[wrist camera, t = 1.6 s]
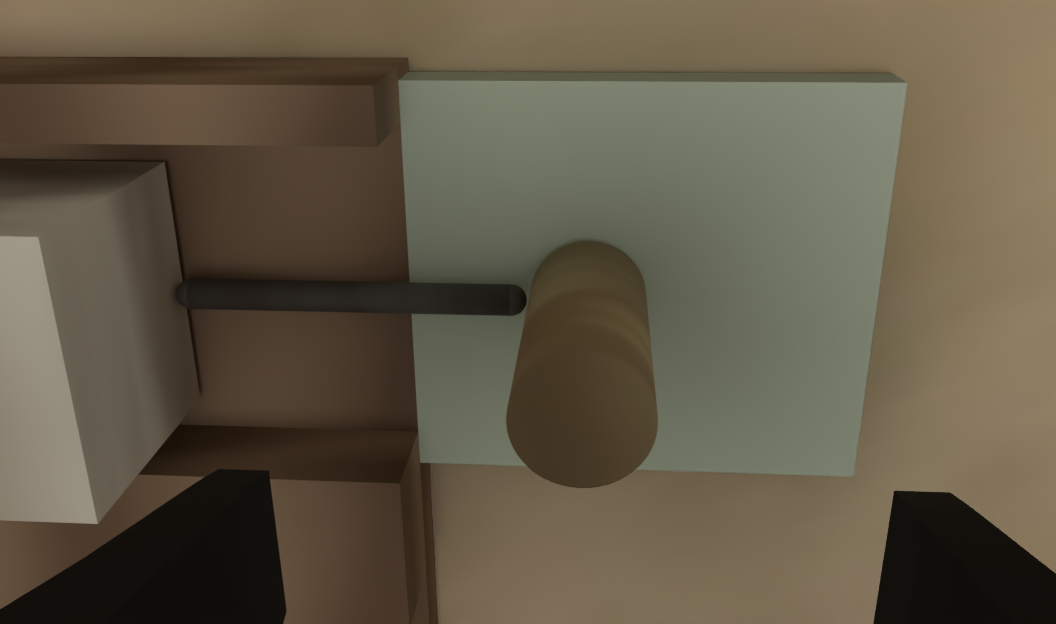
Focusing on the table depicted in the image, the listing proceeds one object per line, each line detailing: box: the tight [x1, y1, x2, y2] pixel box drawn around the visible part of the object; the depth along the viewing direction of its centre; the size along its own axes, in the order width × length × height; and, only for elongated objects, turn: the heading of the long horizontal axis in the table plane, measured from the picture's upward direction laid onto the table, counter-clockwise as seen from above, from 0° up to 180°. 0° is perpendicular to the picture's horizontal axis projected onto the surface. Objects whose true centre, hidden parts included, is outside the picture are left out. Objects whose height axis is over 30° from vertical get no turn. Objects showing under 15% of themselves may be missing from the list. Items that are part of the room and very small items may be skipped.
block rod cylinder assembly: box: [0, 160, 658, 524], centre depth 17 cm, size 15×5×5 cm, turn 91°
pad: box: [398, 72, 907, 477], centre depth 20 cm, size 9×8×1 cm
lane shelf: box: [0, 57, 438, 624], centre depth 21 cm, size 12×18×3 cm, turn 1°
